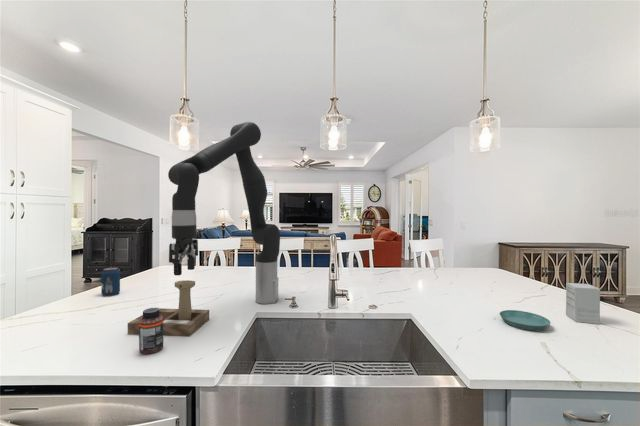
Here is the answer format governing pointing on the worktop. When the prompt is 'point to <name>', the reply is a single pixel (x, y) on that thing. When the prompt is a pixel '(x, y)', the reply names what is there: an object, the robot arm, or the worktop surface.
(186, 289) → the handle
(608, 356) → the worktop surface
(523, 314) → the saucer
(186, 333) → the brown wooden frame
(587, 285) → the supplement box
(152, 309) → the supplement bottle
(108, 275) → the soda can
